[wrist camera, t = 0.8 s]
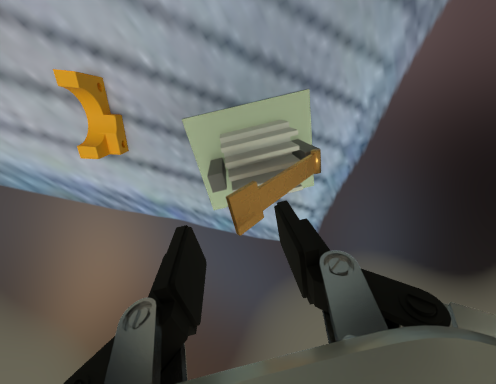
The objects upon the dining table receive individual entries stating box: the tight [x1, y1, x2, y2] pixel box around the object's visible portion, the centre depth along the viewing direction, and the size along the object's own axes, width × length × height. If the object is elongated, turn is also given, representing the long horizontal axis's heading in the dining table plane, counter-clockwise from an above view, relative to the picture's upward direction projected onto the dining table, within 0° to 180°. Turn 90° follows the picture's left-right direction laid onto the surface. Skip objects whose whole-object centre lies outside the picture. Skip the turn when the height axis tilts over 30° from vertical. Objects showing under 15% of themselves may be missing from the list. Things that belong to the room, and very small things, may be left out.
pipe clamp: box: [53, 69, 129, 159], centre depth 30 cm, size 12×4×6 cm, turn 175°
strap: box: [226, 149, 321, 235], centre depth 24 cm, size 18×5×1 cm
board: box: [182, 89, 319, 210], centre depth 34 cm, size 24×20×10 cm
